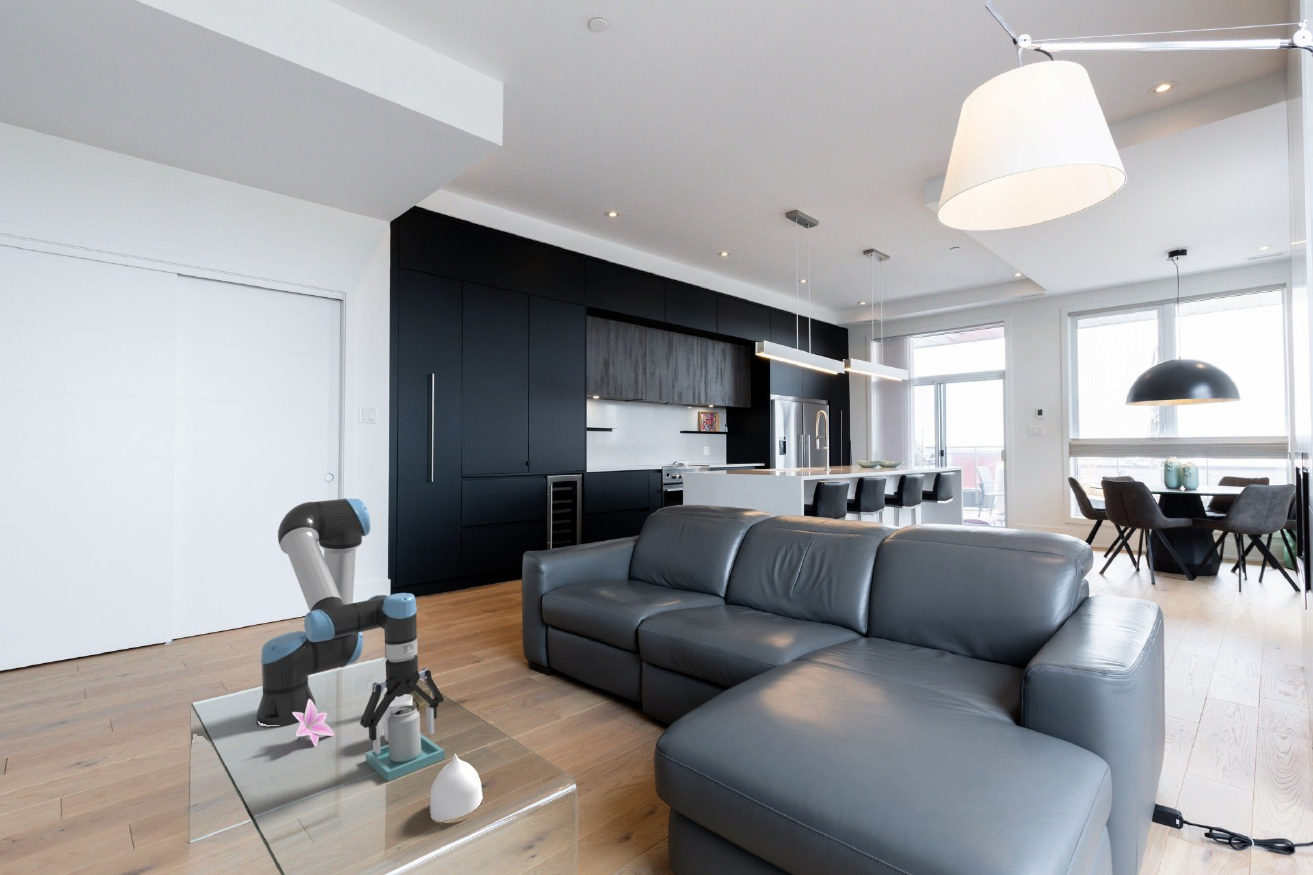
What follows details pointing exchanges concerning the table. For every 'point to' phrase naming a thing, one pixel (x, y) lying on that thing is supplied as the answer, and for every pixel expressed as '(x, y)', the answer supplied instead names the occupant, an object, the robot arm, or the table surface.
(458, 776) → the teardrop
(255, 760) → the table surface
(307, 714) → the lily
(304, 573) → the robot arm
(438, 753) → the tray
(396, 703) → the white cup
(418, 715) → the can
